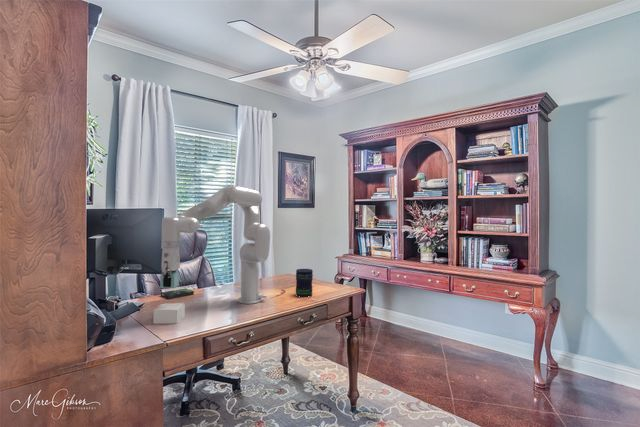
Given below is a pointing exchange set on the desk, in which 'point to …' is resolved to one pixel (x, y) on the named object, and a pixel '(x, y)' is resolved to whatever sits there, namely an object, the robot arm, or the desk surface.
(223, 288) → the desk surface
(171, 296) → the disk drive
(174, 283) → the teal cube
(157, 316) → the cream block
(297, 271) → the storage jar
